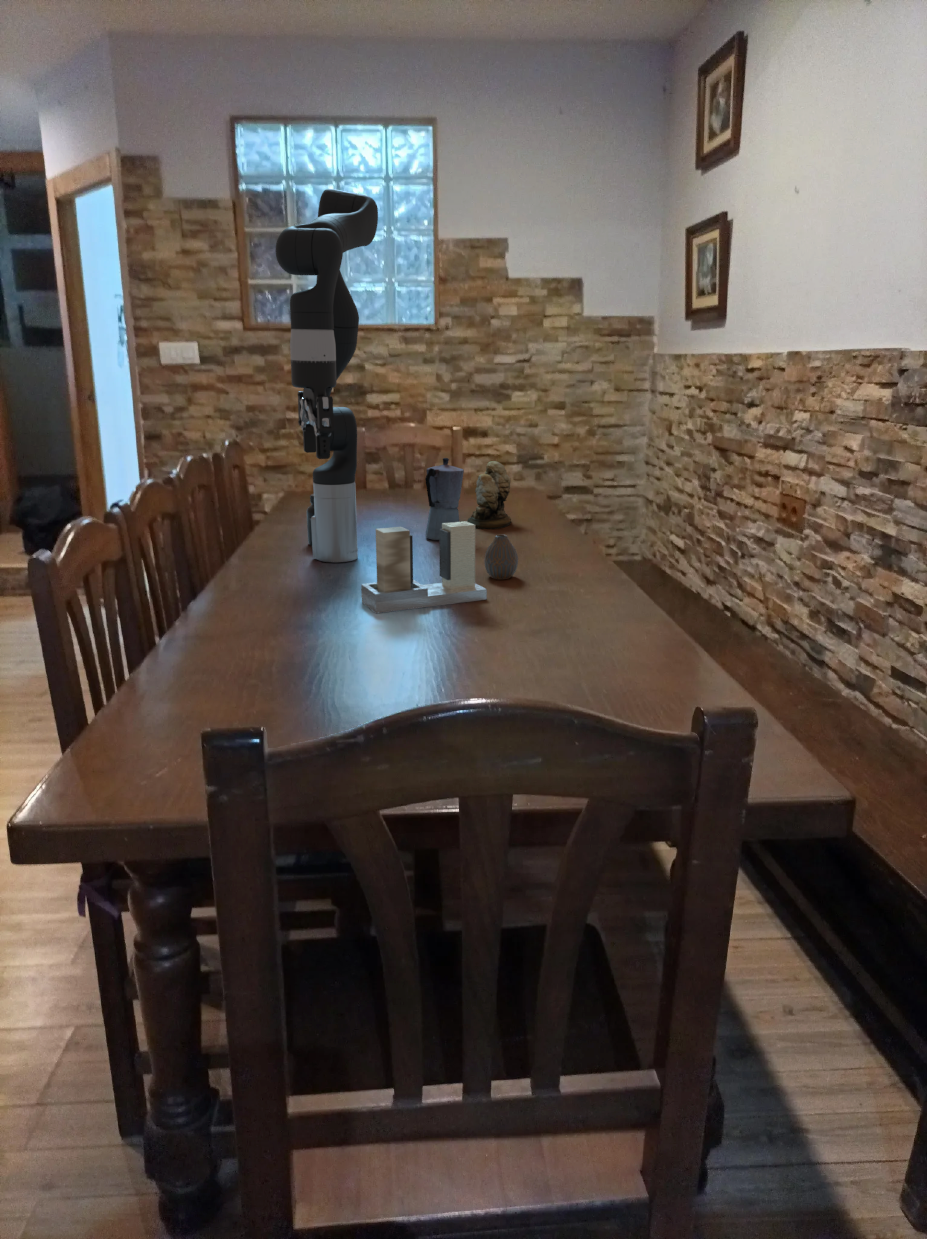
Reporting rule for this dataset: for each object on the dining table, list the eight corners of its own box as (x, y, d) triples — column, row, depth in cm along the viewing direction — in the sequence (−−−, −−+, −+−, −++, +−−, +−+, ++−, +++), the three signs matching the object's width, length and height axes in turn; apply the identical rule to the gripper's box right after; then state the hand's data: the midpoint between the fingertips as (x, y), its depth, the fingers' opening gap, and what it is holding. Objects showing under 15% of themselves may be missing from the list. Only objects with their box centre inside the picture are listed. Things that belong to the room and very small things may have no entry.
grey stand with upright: (376, 613, 154) (374, 536, 150) (361, 602, 161) (359, 528, 157) (486, 599, 163) (487, 526, 159) (468, 589, 170) (468, 518, 166)
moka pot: (473, 535, 221) (473, 456, 216) (446, 546, 208) (446, 462, 202) (439, 531, 225) (439, 454, 219) (411, 543, 212) (410, 460, 206)
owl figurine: (474, 517, 247) (474, 456, 242) (514, 519, 245) (516, 458, 240) (462, 528, 230) (463, 463, 225) (506, 530, 228) (508, 465, 223)
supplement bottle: (302, 544, 210) (299, 494, 207) (324, 539, 215) (322, 491, 212) (320, 548, 206) (317, 497, 202) (342, 543, 211) (340, 494, 207)
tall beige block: (385, 598, 156) (383, 532, 152) (377, 593, 159) (375, 528, 156) (413, 594, 158) (412, 530, 155) (405, 589, 162) (404, 526, 158)
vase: (515, 582, 176) (515, 539, 173) (481, 580, 177) (481, 538, 174) (519, 574, 182) (520, 533, 179) (487, 572, 183) (487, 531, 181)
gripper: (347, 359, 140) (349, 460, 146) (323, 356, 153) (326, 449, 158) (301, 359, 137) (305, 462, 143) (281, 356, 150) (285, 450, 155)
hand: (316, 455), depth 150 cm, fingers open, 8 cm apart
